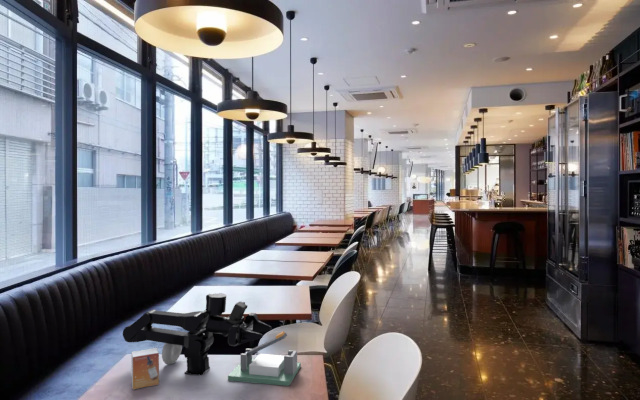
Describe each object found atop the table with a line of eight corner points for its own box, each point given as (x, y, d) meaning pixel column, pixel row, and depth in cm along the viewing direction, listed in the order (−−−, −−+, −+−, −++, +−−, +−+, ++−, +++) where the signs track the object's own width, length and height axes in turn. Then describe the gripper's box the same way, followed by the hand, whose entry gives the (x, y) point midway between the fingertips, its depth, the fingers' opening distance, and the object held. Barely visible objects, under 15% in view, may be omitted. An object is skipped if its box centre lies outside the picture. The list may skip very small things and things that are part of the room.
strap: (243, 358, 141) (241, 353, 141) (247, 355, 144) (244, 350, 144) (284, 338, 138) (282, 333, 138) (287, 335, 141) (284, 330, 141)
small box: (132, 390, 129) (131, 357, 129) (131, 383, 134) (131, 351, 134) (159, 384, 133) (159, 352, 133) (157, 377, 138) (157, 346, 138)
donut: (167, 369, 144) (169, 341, 144) (159, 368, 145) (160, 340, 145) (183, 358, 154) (184, 332, 154) (175, 357, 155) (176, 331, 155)
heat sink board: (227, 380, 136) (227, 357, 136) (245, 362, 150) (245, 341, 150) (288, 385, 131) (288, 362, 131) (300, 366, 146) (300, 345, 146)
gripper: (213, 308, 131) (259, 315, 128) (236, 296, 150) (277, 301, 147) (210, 343, 131) (256, 350, 128) (233, 326, 150) (274, 332, 147)
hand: (266, 332), depth 137 cm, fingers open, 9 cm apart
